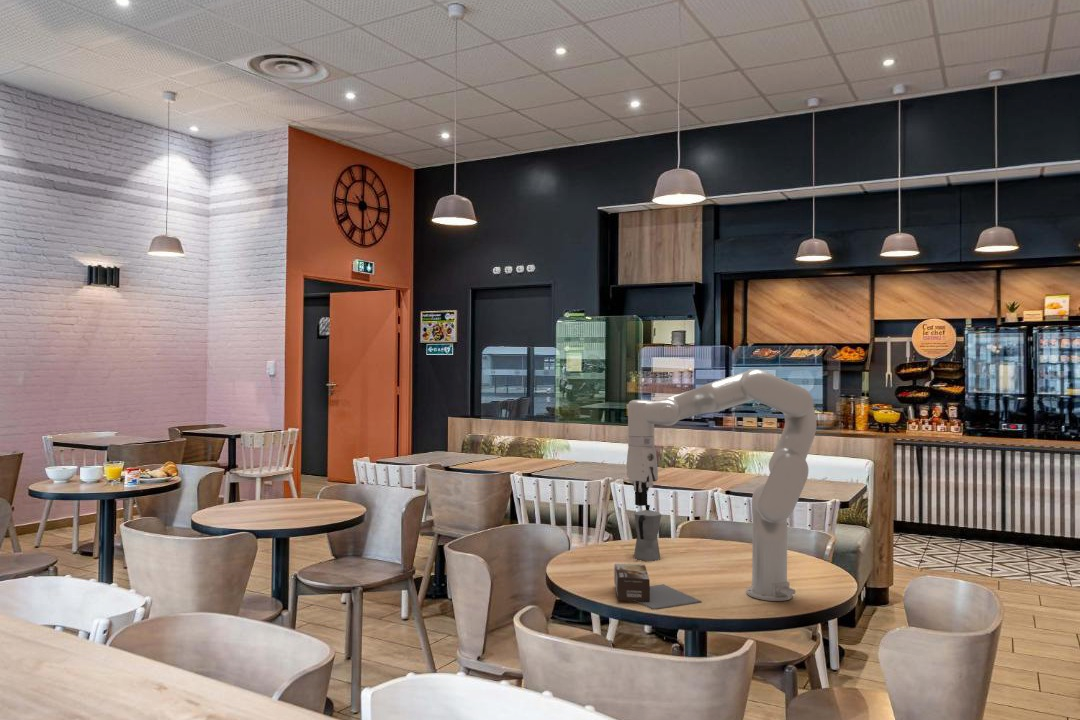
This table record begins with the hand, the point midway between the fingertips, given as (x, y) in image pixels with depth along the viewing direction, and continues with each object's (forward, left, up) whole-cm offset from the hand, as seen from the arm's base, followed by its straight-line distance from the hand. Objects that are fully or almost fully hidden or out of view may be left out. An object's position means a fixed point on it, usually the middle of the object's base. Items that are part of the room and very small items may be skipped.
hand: (641, 505), depth 226 cm
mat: (-9, 0, -24) cm, 26 cm away
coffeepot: (+29, -22, -24) cm, 44 cm away
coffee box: (+3, +2, -21) cm, 21 cm away
